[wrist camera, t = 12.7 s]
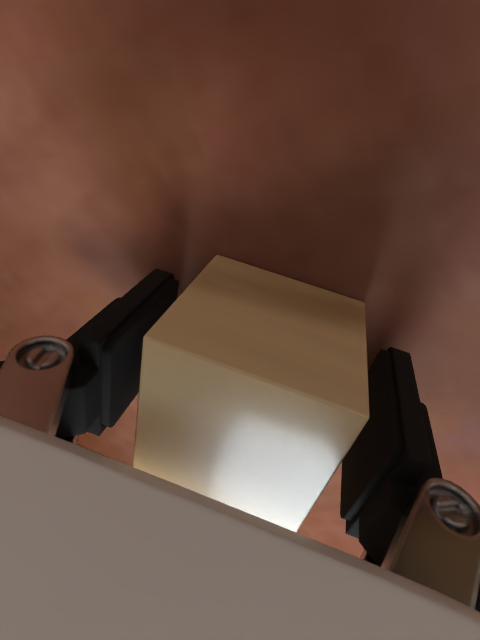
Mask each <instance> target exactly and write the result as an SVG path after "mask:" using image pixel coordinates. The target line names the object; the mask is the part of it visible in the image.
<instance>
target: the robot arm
mask: <svg viewBox="0 0 480 640" xmlns="http://www.w3.org/2000/svg"><path fill="white" fill-rule="evenodd" d="M178 284H179V282H178V280H176V279H174V274H172V273H169V272H166V271H163V270H160V269H157V268H156V269H155V270H153V271H152V272H151V273H150V274H149V275H147V276H146V277H145V278H144V279H143V280H142V281H140V282H139V283H138V284H137V285H136V286H135V287H133V288H132V289H131V290H130V291H129V292H128V293H126V294H125V295H124V296H123V297H122V298H117V299H115V300H114V301H112V302H111V303H110V304H109V305H108V306H106V307H105V308H104V309H103V310H102V311H100V312H99V313H98V314H97V315H96V316H94V317H93V318H92V319H91V320H90V321H88V322H87V323H86V324H85V325H84V326H82V327H81V328H80V329H79V330H78V331H76V332H75V333H74V334H73V335H72V336H71V337H69V338H68V339H67V340H65V339H62V338H60V337H55V336H37V337H32V338H29V339H26V340H24V341H21V342H20V343H18V344H17V345H15V346H14V347H13V349H12V350H11V351H10V352H9V354H8V356H7V358H6V360H5V361H0V640H480V506H479V504H478V503H477V502H476V501H475V500H474V499H473V498H472V496H471V495H470V494H468V493H467V492H466V491H465V490H464V489H462V488H461V487H460V486H458V485H456V484H454V483H453V482H451V481H448V480H445V479H443V478H442V473H441V469H440V465H439V460H438V456H437V451H436V447H435V442H434V438H433V434H432V429H431V425H430V420H429V416H428V411H427V408H426V406H425V405H424V404H423V403H421V402H420V399H419V394H418V389H417V384H416V379H415V375H414V370H413V365H412V360H411V356H410V353H408V352H405V351H402V350H399V349H396V348H393V347H389V348H388V349H387V350H384V349H381V350H380V351H379V353H378V354H377V356H376V358H375V360H374V361H373V363H372V365H371V367H370V368H369V370H368V393H369V419H368V421H367V422H366V424H365V426H364V427H363V429H362V430H361V432H360V433H359V435H358V437H357V438H356V440H355V441H354V443H353V444H352V446H351V448H350V449H349V451H348V452H347V454H346V456H345V457H344V459H343V460H342V480H341V505H340V515H341V518H343V519H345V520H346V534H349V535H351V536H354V537H356V538H359V542H360V543H361V545H362V546H363V548H364V551H363V553H362V555H361V557H360V558H358V557H355V556H353V555H350V554H348V553H345V552H343V551H340V550H338V549H335V548H333V547H331V546H328V545H326V544H323V543H321V542H318V541H316V540H313V539H311V538H308V537H306V536H303V535H301V534H299V533H296V532H294V531H291V530H289V529H286V528H284V527H281V526H279V525H276V524H274V523H272V522H269V521H267V520H264V519H262V518H259V517H257V516H254V515H252V514H249V513H247V512H244V511H242V510H239V509H237V508H234V507H232V506H229V505H227V504H224V503H222V502H219V501H217V500H214V499H212V498H209V497H207V496H204V495H202V494H199V493H197V492H194V491H192V490H189V489H187V488H184V487H182V486H179V485H177V484H174V483H172V482H169V481H167V480H164V479H162V478H159V477H157V476H154V475H152V474H149V473H147V472H144V471H142V470H139V469H137V468H134V467H132V466H129V465H126V464H124V463H121V462H119V461H116V460H114V459H111V458H109V457H106V456H104V455H101V454H99V453H96V452H94V451H91V450H88V449H86V448H83V447H81V446H78V445H76V444H77V440H78V436H79V435H80V434H84V433H86V432H87V431H88V432H90V433H93V434H96V435H98V436H100V435H101V433H102V432H103V431H104V429H105V428H106V427H107V426H108V427H113V426H114V425H115V423H116V422H117V421H118V419H119V418H120V417H121V415H122V414H123V413H124V411H125V410H126V408H127V407H128V406H129V404H130V403H131V402H132V400H133V399H134V398H135V396H136V395H137V394H138V392H139V384H140V372H141V360H142V347H143V337H144V335H145V334H146V333H147V332H148V331H149V330H150V329H151V328H152V326H153V325H154V324H155V323H156V322H157V321H158V320H159V319H160V317H161V316H162V315H163V314H164V313H165V312H166V311H167V310H168V308H169V307H170V306H171V305H172V304H173V303H174V302H175V301H176V299H177V292H178Z"/></svg>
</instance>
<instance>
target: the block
mask: <svg viewBox="0 0 480 640" xmlns="http://www.w3.org/2000/svg"><path fill="white" fill-rule="evenodd" d="M368 419H369V393H368V368H367V343H366V319H365V303H364V302H362V301H359V300H356V299H353V298H350V297H347V296H344V295H340V294H337V293H334V292H331V291H328V290H325V289H322V288H319V287H316V286H313V285H310V284H307V283H304V282H300V281H297V280H294V279H291V278H288V277H285V276H282V275H279V274H276V273H273V272H270V271H267V270H264V269H261V268H257V267H254V266H251V265H248V264H245V263H242V262H239V261H236V260H233V259H230V258H227V257H224V256H221V255H216V256H215V257H214V258H213V259H212V260H211V261H210V262H209V263H208V265H207V266H206V267H205V268H204V269H203V270H202V271H201V272H200V274H199V275H198V276H197V277H196V278H195V279H194V280H193V281H192V283H191V284H190V285H189V286H188V287H187V288H186V289H185V290H184V292H183V293H182V294H181V295H180V296H179V297H178V298H177V299H176V301H175V302H174V303H173V304H172V305H171V306H170V307H169V308H168V310H167V311H166V312H165V313H164V314H163V315H162V316H161V317H160V319H159V320H158V321H157V322H156V323H155V324H154V325H153V326H152V328H151V329H150V330H149V331H148V332H147V333H146V334H145V335H144V337H143V347H142V360H141V372H140V384H139V396H138V409H137V421H136V433H135V446H134V458H133V467H134V468H137V469H139V470H142V471H144V472H147V473H149V474H152V475H154V476H157V477H159V478H162V479H164V480H167V481H169V482H172V483H174V484H177V485H179V486H182V487H184V488H187V489H189V490H192V491H194V492H197V493H199V494H202V495H204V496H207V497H209V498H212V499H214V500H217V501H219V502H222V503H224V504H227V505H229V506H232V507H234V508H237V509H239V510H242V511H244V512H247V513H249V514H252V515H254V516H257V517H259V518H262V519H264V520H267V521H269V522H272V523H274V524H276V525H279V526H281V527H284V528H286V529H289V530H291V531H294V532H296V533H297V531H298V529H299V528H300V526H301V525H302V523H303V522H304V520H305V518H306V517H307V515H308V514H309V512H310V511H311V509H312V507H313V506H314V504H315V503H316V501H317V500H318V498H319V496H320V495H321V493H322V492H323V490H324V489H325V487H326V485H327V484H328V482H329V481H330V479H331V478H332V476H333V474H334V473H335V471H336V470H337V468H338V467H339V465H340V463H341V462H342V460H343V459H344V457H345V456H346V454H347V452H348V451H349V449H350V448H351V446H352V444H353V443H354V441H355V440H356V438H357V437H358V435H359V433H360V432H361V430H362V429H363V427H364V426H365V424H366V422H367V421H368Z"/></svg>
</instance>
